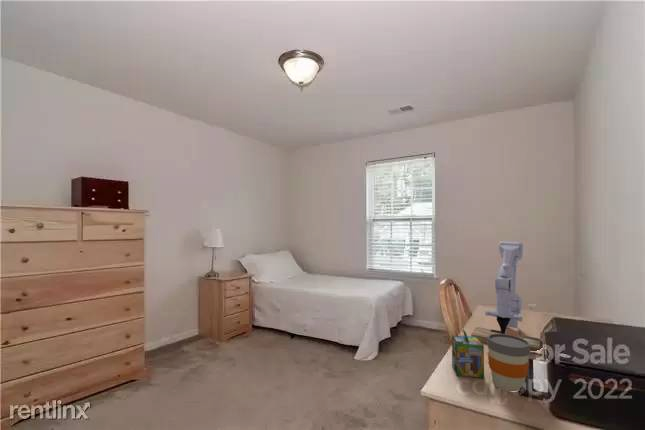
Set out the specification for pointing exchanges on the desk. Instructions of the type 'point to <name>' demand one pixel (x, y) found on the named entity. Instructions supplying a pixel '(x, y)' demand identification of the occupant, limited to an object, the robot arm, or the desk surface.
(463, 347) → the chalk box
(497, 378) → the reusable coffee cup
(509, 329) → the block
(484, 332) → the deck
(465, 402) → the desk surface
